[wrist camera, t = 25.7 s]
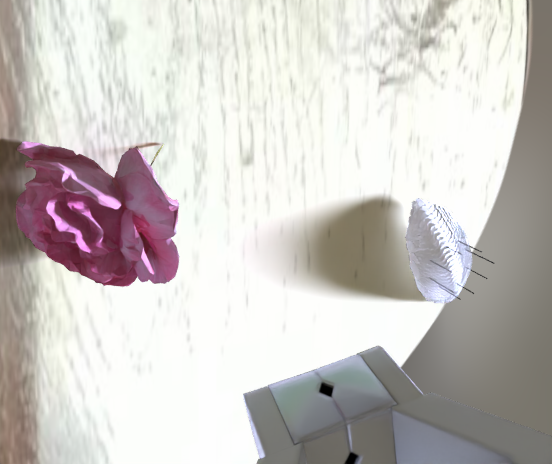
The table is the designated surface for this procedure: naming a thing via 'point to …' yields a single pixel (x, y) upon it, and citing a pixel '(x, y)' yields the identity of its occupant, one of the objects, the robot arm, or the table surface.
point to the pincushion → (437, 252)
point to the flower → (99, 216)
